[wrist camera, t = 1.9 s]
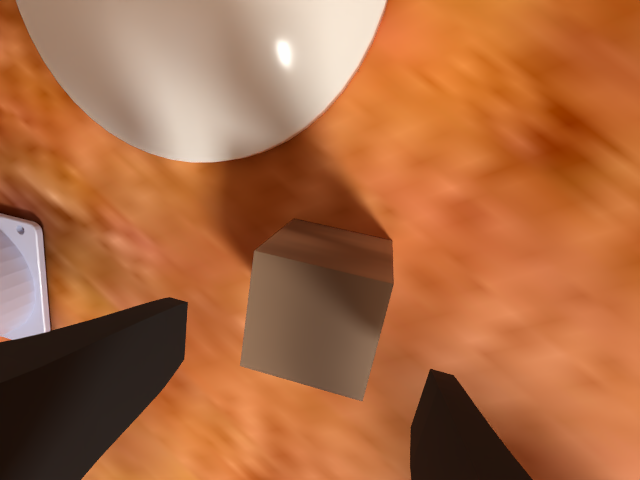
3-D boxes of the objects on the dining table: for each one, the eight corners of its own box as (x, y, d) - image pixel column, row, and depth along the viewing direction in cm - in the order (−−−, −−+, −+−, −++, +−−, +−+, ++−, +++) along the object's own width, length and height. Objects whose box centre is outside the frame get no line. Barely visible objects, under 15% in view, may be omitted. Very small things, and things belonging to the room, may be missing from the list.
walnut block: (280, 304, 17) (239, 366, 13) (294, 218, 16) (254, 250, 11) (370, 327, 17) (362, 401, 12) (392, 240, 15) (393, 283, 11)
